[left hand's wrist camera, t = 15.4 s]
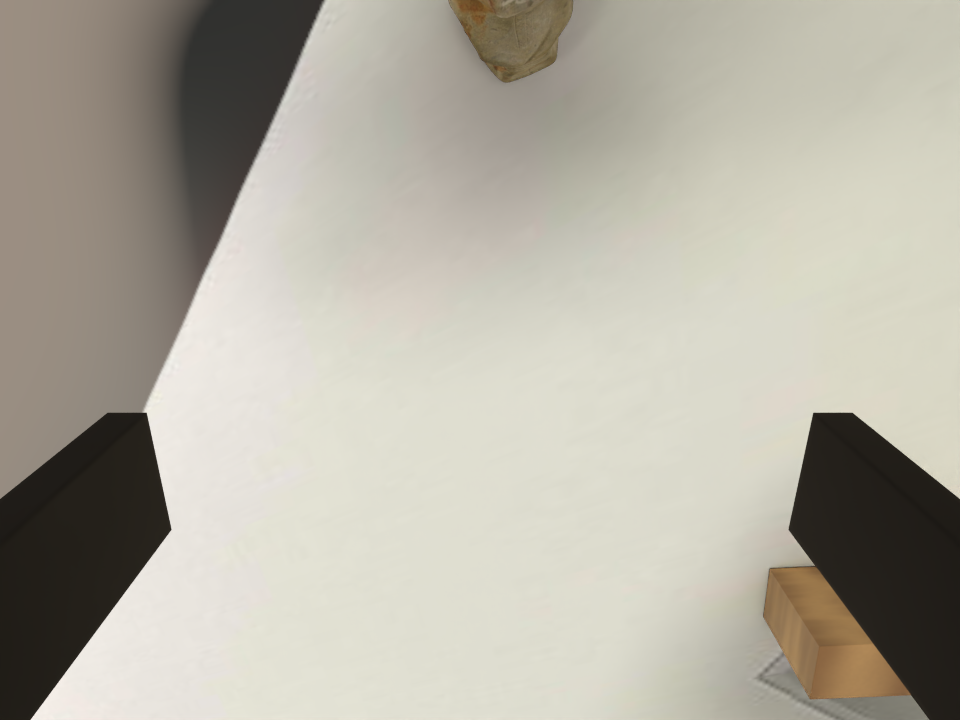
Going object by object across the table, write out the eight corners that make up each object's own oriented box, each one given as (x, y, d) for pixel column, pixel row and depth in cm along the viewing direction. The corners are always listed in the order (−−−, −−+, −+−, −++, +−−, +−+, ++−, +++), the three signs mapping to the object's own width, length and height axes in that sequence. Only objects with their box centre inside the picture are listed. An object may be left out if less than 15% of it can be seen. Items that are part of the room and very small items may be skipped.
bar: (1088, 553, 51) (1194, 630, 44) (1070, 602, 53) (1169, 684, 45) (769, 568, 52) (819, 646, 44) (763, 616, 53) (809, 699, 46)
